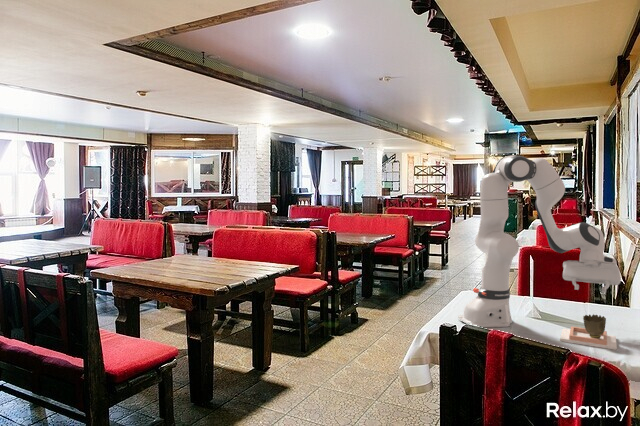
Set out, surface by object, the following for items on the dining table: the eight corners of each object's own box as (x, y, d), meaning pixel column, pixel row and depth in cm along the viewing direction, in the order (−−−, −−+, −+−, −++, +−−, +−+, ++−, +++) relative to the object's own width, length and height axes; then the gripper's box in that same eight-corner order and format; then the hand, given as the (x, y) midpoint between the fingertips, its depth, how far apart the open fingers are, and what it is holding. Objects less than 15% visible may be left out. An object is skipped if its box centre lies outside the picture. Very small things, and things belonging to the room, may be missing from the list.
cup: (585, 332, 178) (584, 312, 178) (607, 335, 174) (607, 315, 173) (582, 339, 173) (581, 319, 172) (605, 342, 168) (604, 322, 167)
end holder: (616, 349, 164) (616, 343, 164) (560, 341, 174) (560, 334, 173) (615, 338, 175) (615, 332, 175) (562, 330, 185) (562, 324, 184)
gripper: (563, 255, 194) (560, 283, 186) (620, 259, 183) (620, 289, 175) (563, 264, 198) (561, 291, 190) (620, 268, 187) (619, 297, 179)
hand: (590, 290), depth 183 cm, fingers open, 8 cm apart
